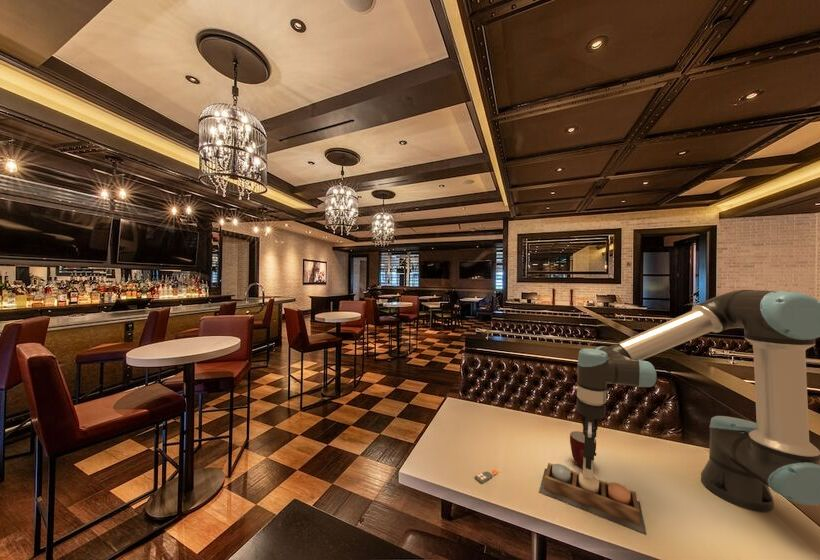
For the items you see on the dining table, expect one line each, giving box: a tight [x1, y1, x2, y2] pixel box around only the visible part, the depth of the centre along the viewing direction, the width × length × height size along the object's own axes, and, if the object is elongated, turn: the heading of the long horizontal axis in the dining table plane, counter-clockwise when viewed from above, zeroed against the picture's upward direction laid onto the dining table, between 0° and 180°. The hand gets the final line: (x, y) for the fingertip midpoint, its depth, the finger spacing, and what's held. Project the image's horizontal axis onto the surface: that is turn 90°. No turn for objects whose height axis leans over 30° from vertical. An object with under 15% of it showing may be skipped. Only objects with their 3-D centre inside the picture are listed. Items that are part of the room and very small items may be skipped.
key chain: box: [474, 469, 502, 485], centre depth 96 cm, size 13×4×2 cm, turn 122°
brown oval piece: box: [608, 482, 630, 506], centre depth 83 cm, size 5×5×3 cm
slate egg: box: [552, 463, 571, 484], centre depth 91 cm, size 5×5×3 cm
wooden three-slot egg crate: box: [538, 462, 647, 536], centre depth 87 cm, size 26×13×4 cm, turn 57°
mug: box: [569, 430, 597, 469], centre depth 101 cm, size 10×8×10 cm
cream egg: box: [579, 472, 600, 494], centre depth 87 cm, size 5×5×3 cm
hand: (587, 476), depth 87 cm, fingers closed
